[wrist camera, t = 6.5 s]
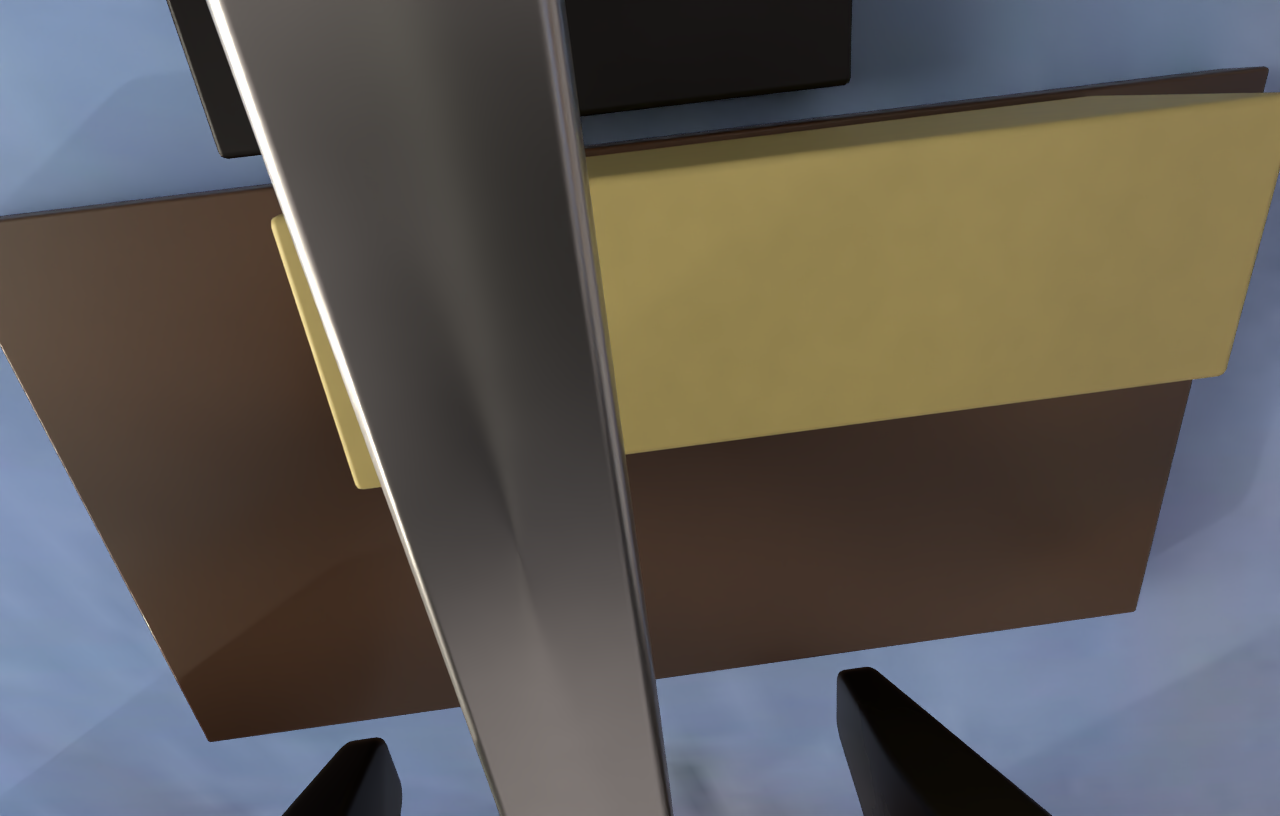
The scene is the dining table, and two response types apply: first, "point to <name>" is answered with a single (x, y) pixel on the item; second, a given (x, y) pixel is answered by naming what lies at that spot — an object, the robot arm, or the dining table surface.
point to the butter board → (659, 480)
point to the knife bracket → (613, 55)
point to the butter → (912, 265)
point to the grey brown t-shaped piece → (474, 360)
